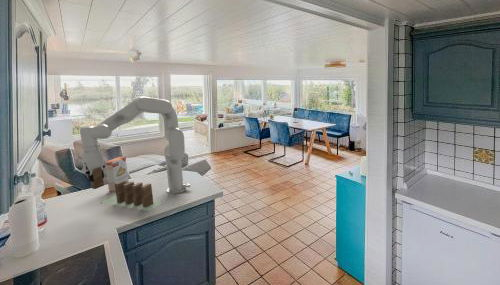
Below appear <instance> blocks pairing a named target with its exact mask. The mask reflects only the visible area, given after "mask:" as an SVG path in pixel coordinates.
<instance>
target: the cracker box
mask: <svg viewBox="0 0 500 285" xmlns="http://www.w3.org/2000/svg"><path fill="white" fill-rule="evenodd" d="M126 158H127V157H126V156H117V157H114V158H113V159H112V158H111V159H110V160H108V161H105V162H106V163H107V164H106V166H105V170H106V177H107V185H108V191H109V193H110V192H111V193H112V192H115V193H116V190H115V183H118V182H120V181H126V183H128V182H129V175H128V167H127V159H126Z"/></svg>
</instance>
